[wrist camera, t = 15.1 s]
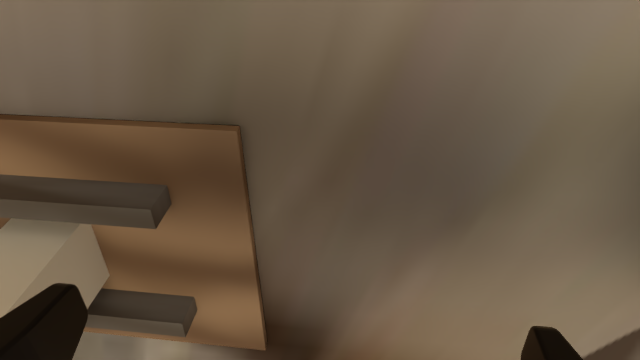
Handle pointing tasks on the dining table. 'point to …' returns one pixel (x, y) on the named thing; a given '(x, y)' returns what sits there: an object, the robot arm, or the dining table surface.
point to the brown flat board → (146, 220)
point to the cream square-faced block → (48, 260)
